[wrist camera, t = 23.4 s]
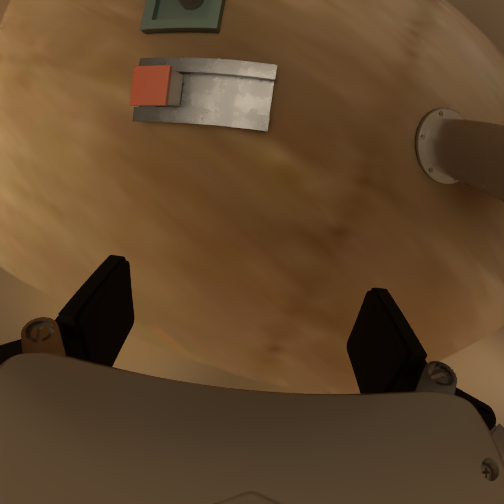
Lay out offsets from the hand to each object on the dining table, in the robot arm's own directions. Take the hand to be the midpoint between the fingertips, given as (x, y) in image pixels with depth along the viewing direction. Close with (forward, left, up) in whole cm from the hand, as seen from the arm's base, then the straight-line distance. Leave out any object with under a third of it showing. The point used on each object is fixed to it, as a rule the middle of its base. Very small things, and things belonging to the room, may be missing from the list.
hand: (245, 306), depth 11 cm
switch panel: (+8, -10, -33) cm, 36 cm away
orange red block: (+13, -10, -31) cm, 35 cm away
